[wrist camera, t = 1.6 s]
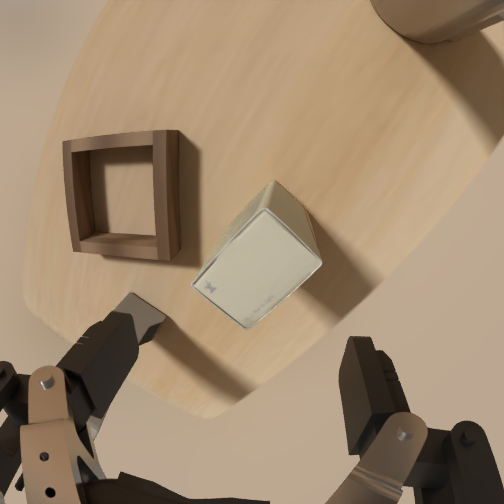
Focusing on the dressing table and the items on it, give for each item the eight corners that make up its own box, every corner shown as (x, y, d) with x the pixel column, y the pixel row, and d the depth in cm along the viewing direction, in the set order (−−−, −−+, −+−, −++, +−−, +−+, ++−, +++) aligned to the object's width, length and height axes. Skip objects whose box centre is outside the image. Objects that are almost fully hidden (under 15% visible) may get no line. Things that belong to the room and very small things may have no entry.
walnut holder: (178, 130, 25) (166, 129, 22) (180, 248, 29) (170, 260, 26) (80, 139, 26) (62, 141, 23) (88, 241, 30) (73, 251, 27)
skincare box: (262, 256, 28) (245, 336, 17) (226, 224, 27) (185, 287, 16) (310, 209, 26) (327, 266, 15) (273, 174, 25) (263, 205, 14)
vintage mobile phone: (155, 334, 33) (54, 516, 10) (121, 311, 33) (-1, 476, 10) (167, 315, 32) (54, 515, 9) (131, 290, 31) (-9, 467, 8)
